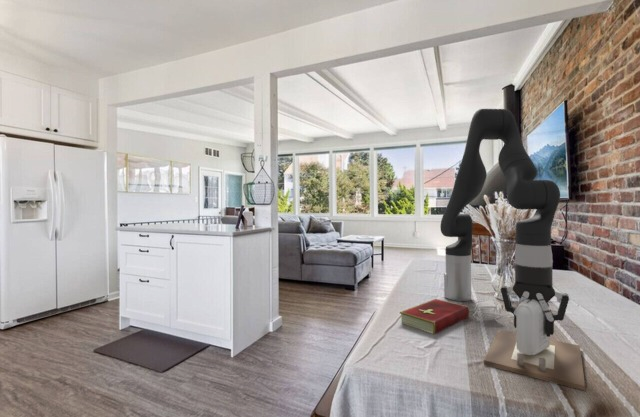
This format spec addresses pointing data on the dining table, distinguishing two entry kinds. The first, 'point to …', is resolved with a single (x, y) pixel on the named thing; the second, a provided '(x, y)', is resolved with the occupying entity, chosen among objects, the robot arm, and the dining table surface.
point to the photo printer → (531, 328)
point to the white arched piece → (487, 305)
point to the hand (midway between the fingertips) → (533, 332)
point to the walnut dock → (538, 360)
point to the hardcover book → (434, 315)
